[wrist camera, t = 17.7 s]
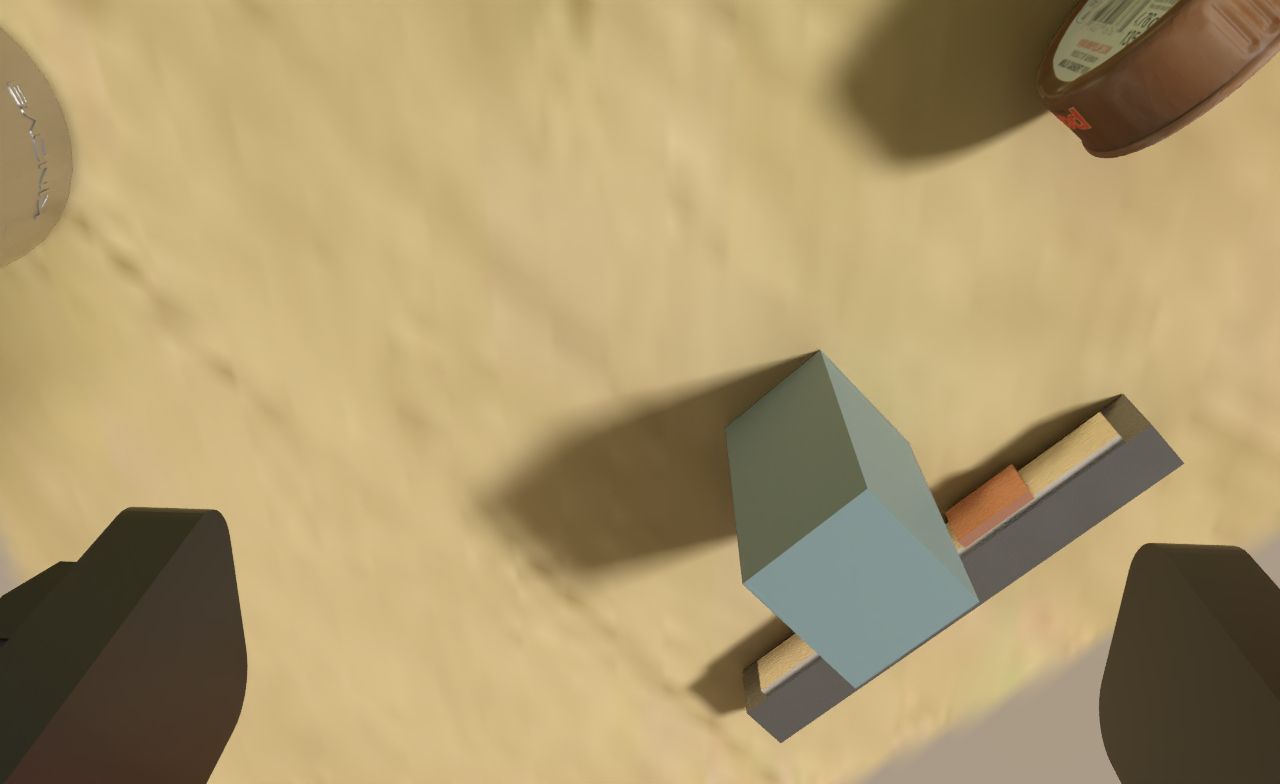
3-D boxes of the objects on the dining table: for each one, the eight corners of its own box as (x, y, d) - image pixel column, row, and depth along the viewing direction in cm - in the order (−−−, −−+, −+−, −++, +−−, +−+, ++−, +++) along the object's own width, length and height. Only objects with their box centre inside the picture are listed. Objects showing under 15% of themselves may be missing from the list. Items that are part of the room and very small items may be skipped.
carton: (724, 428, 40) (742, 584, 31) (820, 349, 39) (867, 488, 30) (815, 516, 42) (857, 690, 33) (909, 443, 41) (981, 603, 31)
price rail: (774, 700, 45) (780, 743, 43) (731, 661, 45) (735, 703, 42) (1154, 431, 40) (1184, 463, 38) (1113, 381, 39) (1140, 411, 37)
